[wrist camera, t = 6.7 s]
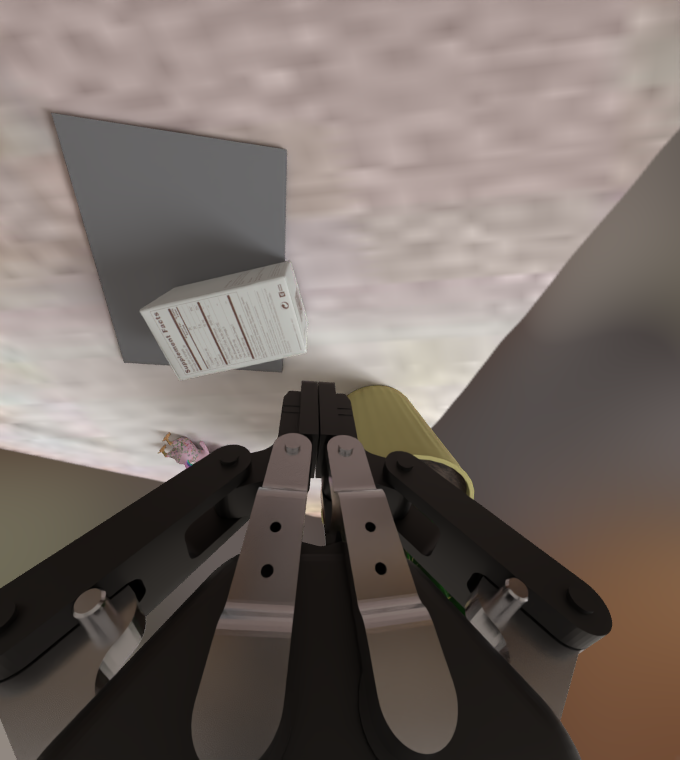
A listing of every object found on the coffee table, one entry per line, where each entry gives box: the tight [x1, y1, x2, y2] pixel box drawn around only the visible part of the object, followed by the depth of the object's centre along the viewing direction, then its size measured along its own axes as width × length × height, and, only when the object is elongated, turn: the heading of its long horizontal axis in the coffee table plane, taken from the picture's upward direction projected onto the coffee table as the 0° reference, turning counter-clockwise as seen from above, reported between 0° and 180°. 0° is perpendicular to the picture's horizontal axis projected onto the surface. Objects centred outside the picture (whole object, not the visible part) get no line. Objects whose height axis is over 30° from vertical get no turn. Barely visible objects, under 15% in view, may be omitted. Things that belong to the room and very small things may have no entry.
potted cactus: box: [321, 385, 474, 617], centre depth 30 cm, size 15×15×30 cm
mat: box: [52, 113, 287, 372], centre depth 30 cm, size 22×18×1 cm
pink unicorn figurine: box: [158, 432, 209, 469], centre depth 41 cm, size 6×6×15 cm
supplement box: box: [140, 261, 308, 381], centre depth 29 cm, size 7×7×13 cm
